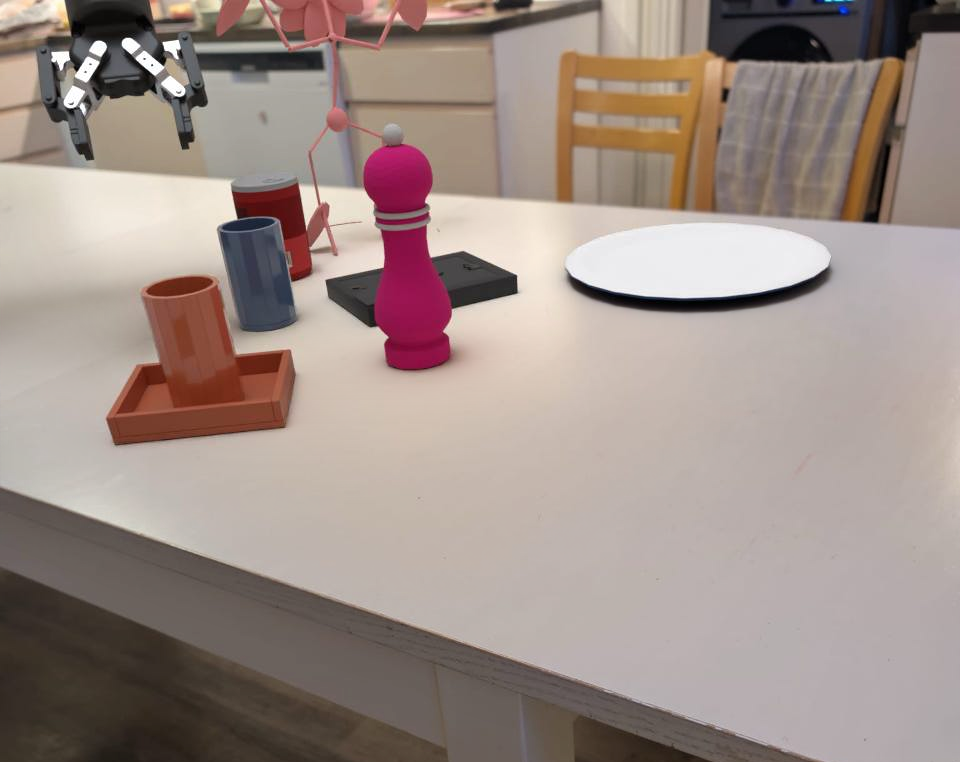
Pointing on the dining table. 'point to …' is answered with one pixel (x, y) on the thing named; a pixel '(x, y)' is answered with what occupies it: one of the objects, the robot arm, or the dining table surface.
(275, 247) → the blue cup
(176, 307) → the terracotta cup
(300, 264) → the canned food
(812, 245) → the plate
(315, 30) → the figurine
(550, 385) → the dining table surface
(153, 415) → the tray
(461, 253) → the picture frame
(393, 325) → the pepper mill
